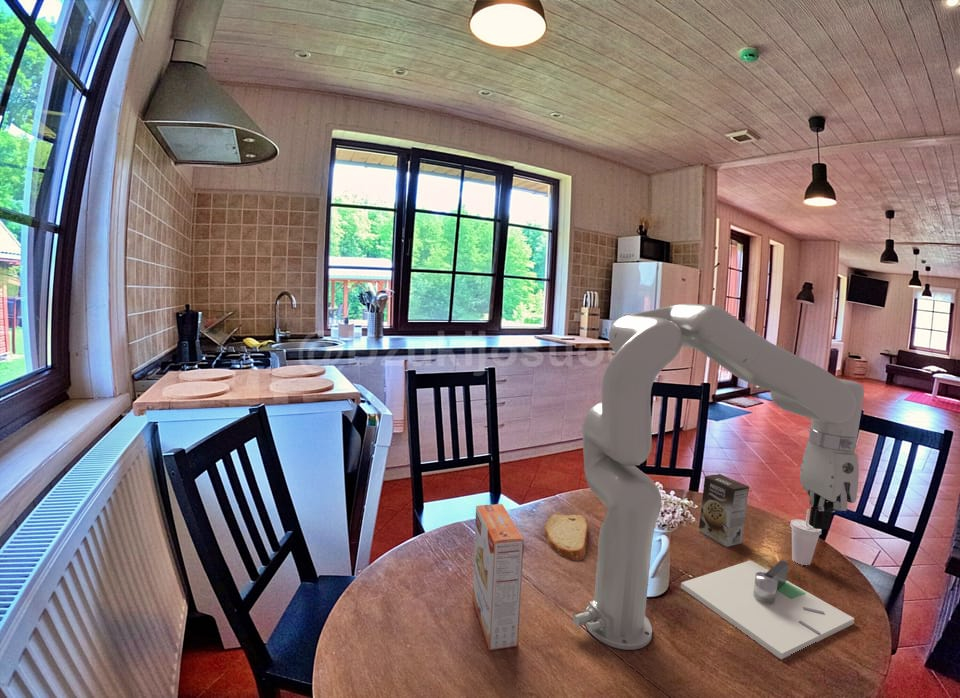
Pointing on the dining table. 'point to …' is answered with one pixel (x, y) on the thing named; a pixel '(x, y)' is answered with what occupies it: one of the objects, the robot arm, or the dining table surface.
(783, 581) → the tuning lever
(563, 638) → the dining table surface
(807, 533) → the smoothie
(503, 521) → the cracker box
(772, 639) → the white flat board
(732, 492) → the cookie box
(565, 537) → the slice of bread
